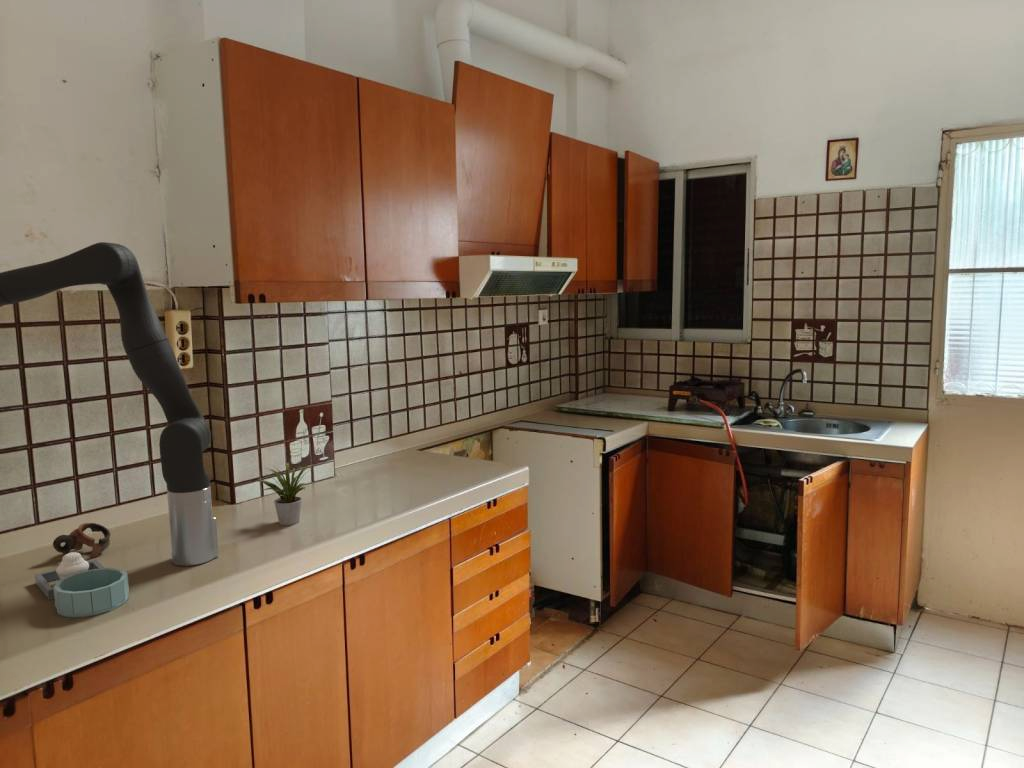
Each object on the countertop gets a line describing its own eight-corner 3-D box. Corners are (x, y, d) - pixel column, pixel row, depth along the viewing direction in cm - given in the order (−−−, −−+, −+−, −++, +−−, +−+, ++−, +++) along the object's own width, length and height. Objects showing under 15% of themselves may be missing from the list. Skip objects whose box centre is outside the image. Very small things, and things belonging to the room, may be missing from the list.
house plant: (300, 509, 212) (297, 453, 210) (329, 519, 203) (326, 460, 200) (254, 521, 201) (251, 462, 199) (282, 532, 192) (279, 471, 190)
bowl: (117, 585, 159) (115, 563, 158) (136, 603, 150) (134, 580, 149) (50, 603, 151) (47, 580, 150) (66, 623, 142) (63, 598, 141)
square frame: (96, 568, 169) (96, 559, 169) (112, 583, 161) (112, 574, 160) (35, 583, 161) (34, 574, 161) (49, 599, 152) (48, 590, 152)
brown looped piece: (90, 546, 185) (104, 518, 184) (107, 570, 181) (121, 542, 179) (40, 548, 175) (54, 519, 174) (56, 574, 170) (70, 544, 169)
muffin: (57, 581, 162) (54, 551, 161) (89, 575, 165) (86, 545, 164) (58, 591, 157) (55, 559, 156) (91, 584, 160) (88, 553, 159)
